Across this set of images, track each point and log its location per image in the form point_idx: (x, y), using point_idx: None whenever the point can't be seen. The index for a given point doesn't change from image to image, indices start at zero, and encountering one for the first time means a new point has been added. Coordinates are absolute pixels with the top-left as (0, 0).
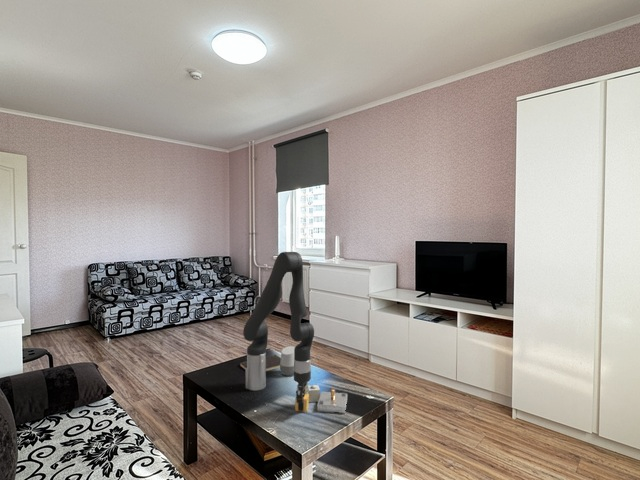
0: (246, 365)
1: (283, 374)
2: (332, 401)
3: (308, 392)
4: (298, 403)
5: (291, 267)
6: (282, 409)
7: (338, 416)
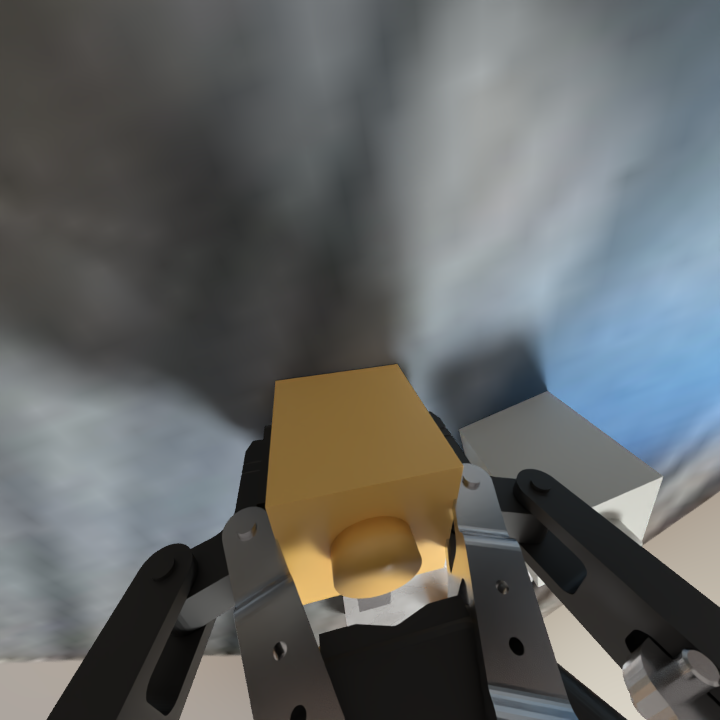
0: None
1: None
2: (405, 616)
3: (549, 466)
4: (259, 489)
5: None
6: (251, 214)
7: (304, 608)
